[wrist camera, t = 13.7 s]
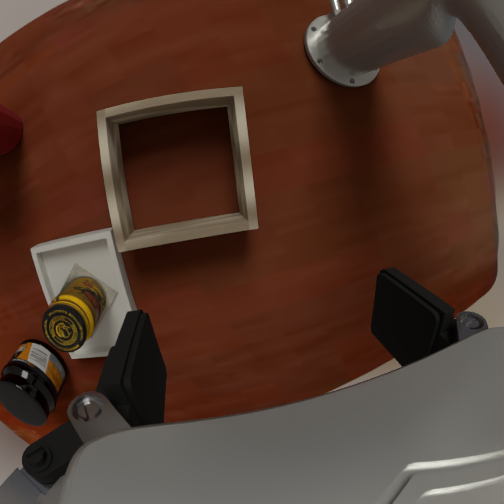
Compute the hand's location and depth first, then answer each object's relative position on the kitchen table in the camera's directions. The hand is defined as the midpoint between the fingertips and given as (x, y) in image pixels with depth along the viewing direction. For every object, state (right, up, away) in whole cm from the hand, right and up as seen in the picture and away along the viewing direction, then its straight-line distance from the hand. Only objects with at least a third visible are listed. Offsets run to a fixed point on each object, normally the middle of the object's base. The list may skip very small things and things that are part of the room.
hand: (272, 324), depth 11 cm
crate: (-10, +13, +23) cm, 29 cm away
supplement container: (-37, -16, +27) cm, 49 cm away
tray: (-24, -4, +25) cm, 35 cm away
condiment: (-24, -4, +24) cm, 34 cm away
